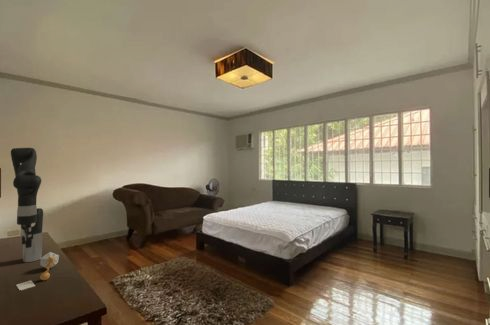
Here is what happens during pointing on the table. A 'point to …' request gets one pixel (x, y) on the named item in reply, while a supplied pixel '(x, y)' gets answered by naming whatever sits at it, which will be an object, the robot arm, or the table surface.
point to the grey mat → (25, 285)
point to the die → (45, 259)
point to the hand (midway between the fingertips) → (26, 245)
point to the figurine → (46, 275)
